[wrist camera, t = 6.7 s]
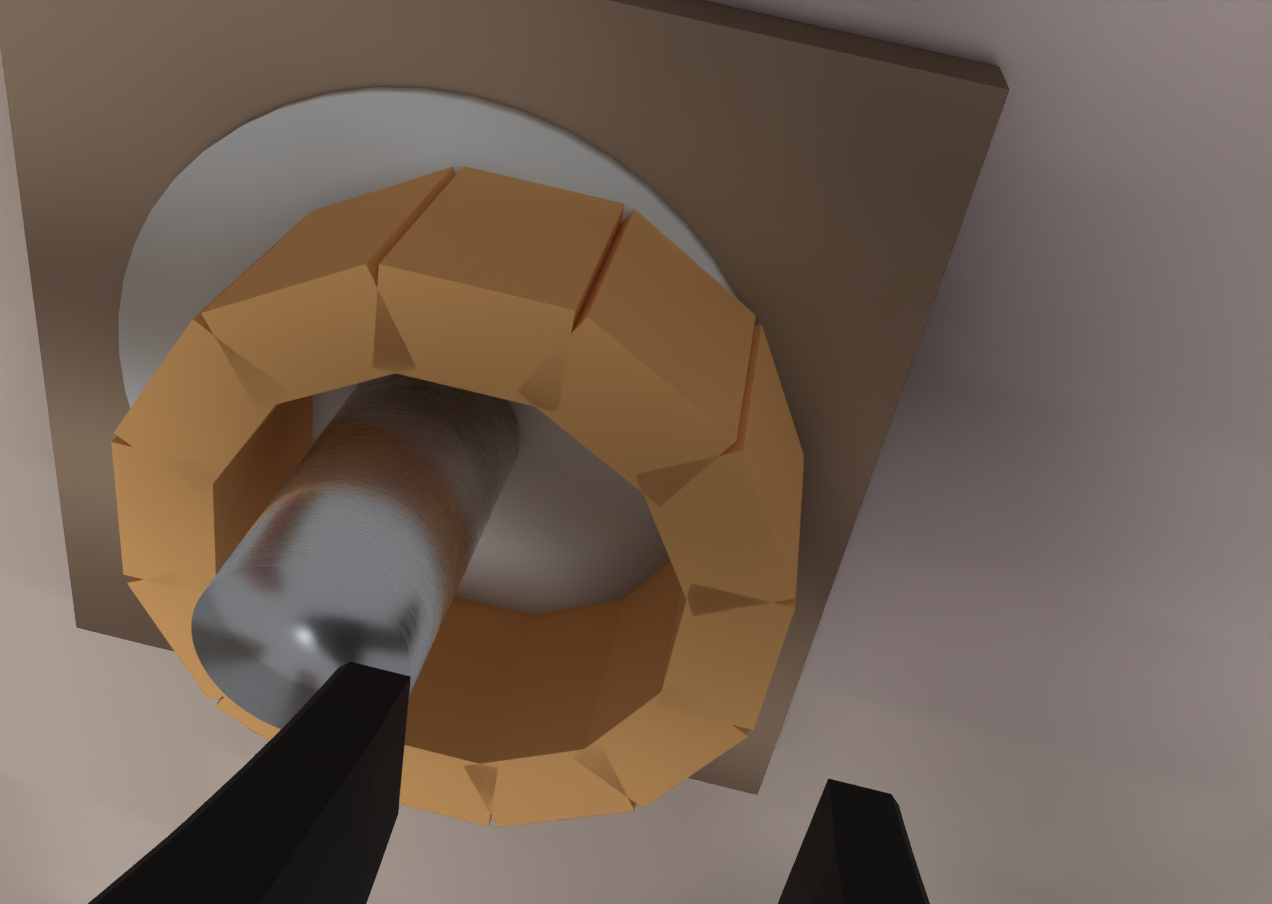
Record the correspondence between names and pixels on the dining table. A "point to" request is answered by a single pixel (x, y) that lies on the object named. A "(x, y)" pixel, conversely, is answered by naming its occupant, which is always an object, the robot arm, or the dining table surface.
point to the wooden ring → (567, 394)
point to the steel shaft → (358, 545)
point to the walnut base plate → (511, 146)
